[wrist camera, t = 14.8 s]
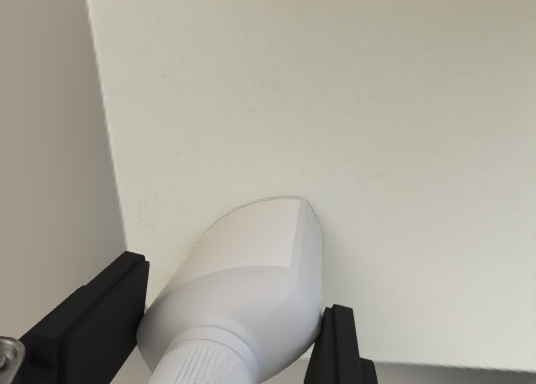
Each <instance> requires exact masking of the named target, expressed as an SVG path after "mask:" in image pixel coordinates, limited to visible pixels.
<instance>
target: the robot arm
mask: <svg viewBox="0 0 536 384" xmlns="http://www.w3.org/2000/svg"><path fill="white" fill-rule="evenodd" d="M149 265H150V264H149V261H145V256H144V255H141V254H137V253H133V252H129V251H125V252H124V253H123V254H121V255H120V256H119V257H118V258H117V259H116V260H114V261H113V262H112V263H111V264H110V265H109V266H108V267H106V268H105V269H104V270H103V271H102V272H101V273H100V274H98V275H97V276H96V277H95V278H94V279H93V280H92V281H90V282H89V283H88V284H87V285H84V286H81V287H80V288H78V289H77V290H76V291H75V292H74V293H72V294H71V295H70V296H69V297H68V298H66V299H65V300H64V301H63V302H62V303H61V304H60V305H58V306H57V307H56V308H55V309H54V310H53V311H51V312H50V313H49V314H48V315H47V316H45V317H44V318H43V319H42V320H41V321H40V322H38V323H37V324H36V325H35V326H34V327H32V328H31V329H30V330H29V331H28V332H27V333H25V334H24V335H23V336H22V337H21V338H20V339H19V340H16V339H14V338H11V337H4V336H1V337H0V384H110V382H111V381H112V379H113V378H114V377H115V375H116V374H117V372H118V371H119V369H120V368H121V366H122V365H123V364H124V362H125V361H126V359H127V358H128V356H129V355H130V354H131V352H132V351H133V349H134V348H135V346H136V345H137V340H136V332H137V329H138V325H139V323H140V321H141V319H142V317H143V316H144V309H145V300H146V292H147V283H148V275H149ZM304 384H378V382H377V376H376V371H375V366H374V363H373V361H372V360H368V359H364V358H361V357H360V356H359V350H358V343H357V336H356V329H355V322H354V315H353V310H352V308H348V307H345V306H341V305H337V304H333V306H332V308H329V307H326V308H325V311H324V314H323V317H322V328H321V332H320V334H319V336H318V337H317V339H316V341H315V344H314V348H313V351H312V354H311V358H310V361H309V365H308V368H307V371H306V375H305V379H304Z"/></svg>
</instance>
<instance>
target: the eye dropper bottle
mask: <svg viewBox="0 0 536 384" xmlns="http://www.w3.org/2000/svg"><path fill="white" fill-rule="evenodd" d="M322 317H323V248H322V230H321V228H320V225H319V223H318V220H317V218H316V216H315V213H314V211H313V209H312V207H311V205H310V204H309V203H308V202H307V200H305V199H302V198H300V197H275V198H267V199H262V200H258V201H255V202H251V203H249V204H246V205H244V206H241V207H239V208H237V209H235V210H233V211H232V212H230V213H228V214H227V215H225V216H224V217H223V218H221V219H220V220H219V221H217V222H216V223H215V224H214V225H213V226H212V227H211V228H210V229H209V230H208V231H207V232H206V233H205V234H204V236H203V237H202V238H201V239H200V241H199V242H198V243H197V245H196V246H195V247H194V249H193V250H192V251H191V252H190V254H189V255H188V256H187V258H186V259H185V260H184V262H183V263H182V264H181V266H180V267H179V268H178V270H177V271H176V272H175V274H174V275H173V276H172V278H171V279H170V280H169V282H168V283H167V284H166V286H165V287H164V288H163V289H162V291H161V292H160V293H159V295H158V296H157V297H156V299H155V300H154V302H153V303H152V305H151V306H150V307H149V309H148V310H147V312H146V313H145V314H144V316H143V317H142V319H141V321H140V323H139V325H138V329H137V332H136V340H137V345H138V348H139V350H140V352H141V355H142V357H143V359H144V360H145V362H146V364H147V366H148V367H149V369H150V370H151V372H152V373H153V374H152V376H151V378H150V379H149V381H148V383H147V384H260V383H262V382H264V381H266V380H268V379H269V378H271V377H273V376H275V375H276V374H278V373H279V372H281V371H282V370H284V369H285V368H287V367H288V366H289V365H291V364H292V363H293V362H294V361H296V360H297V359H298V358H299V357H300V356H301V355H303V354H304V353H305V352H306V351H307V350H308V349H309V348H310V347H311V345H312V344H313V343H314V342H315V341H316V339H317V337H318V336H319V334H320V332H321V328H322Z"/></svg>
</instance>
